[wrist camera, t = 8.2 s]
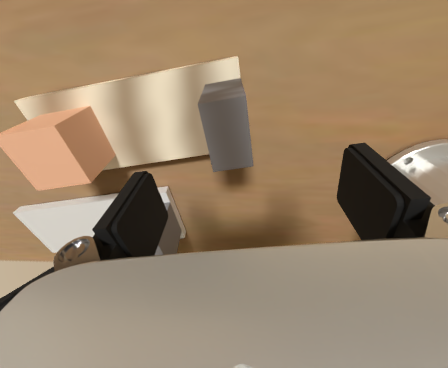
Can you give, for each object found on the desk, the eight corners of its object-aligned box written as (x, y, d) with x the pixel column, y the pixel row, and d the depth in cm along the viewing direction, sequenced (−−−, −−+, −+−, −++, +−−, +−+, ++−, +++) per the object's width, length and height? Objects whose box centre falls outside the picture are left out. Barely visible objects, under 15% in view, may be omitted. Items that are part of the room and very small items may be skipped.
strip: (168, 186, 26) (151, 231, 20) (186, 231, 30) (176, 279, 25) (20, 206, 28) (-35, 253, 22) (57, 246, 32) (20, 293, 27)
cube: (90, 105, 19) (54, 125, 15) (115, 154, 22) (90, 182, 18) (40, 114, 20) (-9, 136, 16) (71, 161, 23) (37, 190, 19)
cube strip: (237, 55, 18) (243, 68, 12) (247, 143, 23) (255, 182, 17) (24, 97, 20) (-60, 125, 14) (73, 169, 25) (25, 213, 19)
